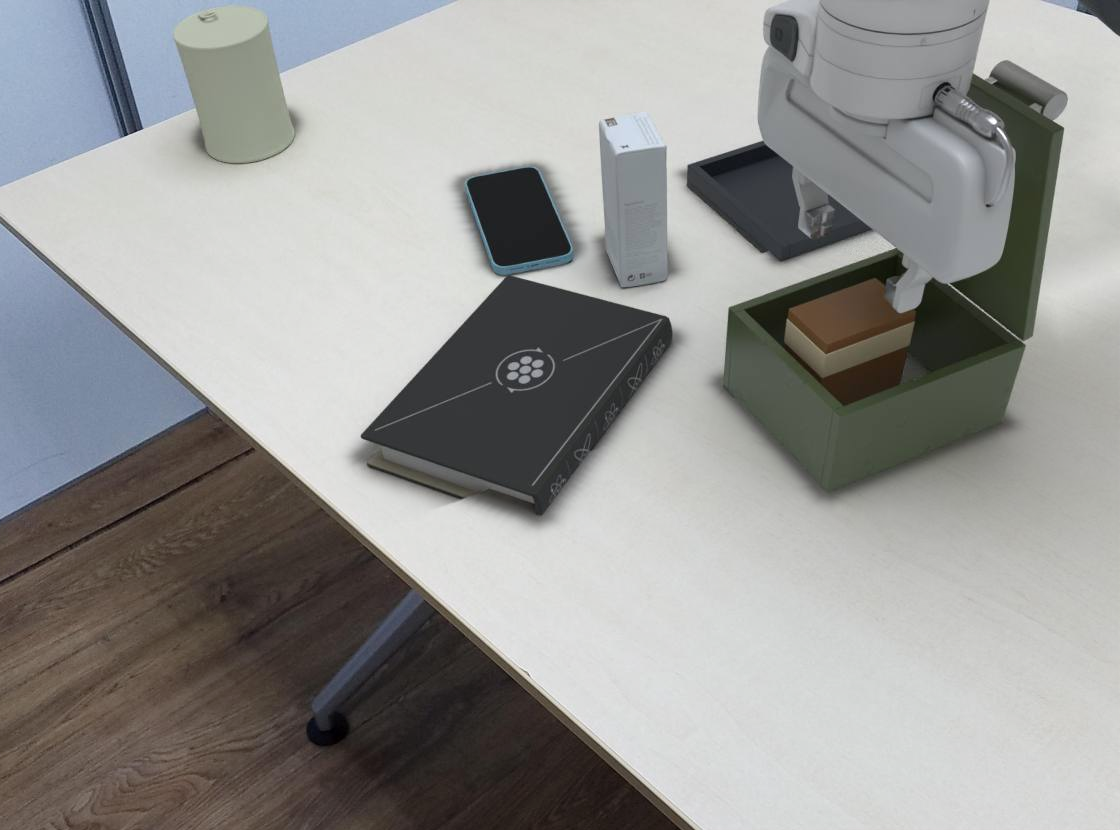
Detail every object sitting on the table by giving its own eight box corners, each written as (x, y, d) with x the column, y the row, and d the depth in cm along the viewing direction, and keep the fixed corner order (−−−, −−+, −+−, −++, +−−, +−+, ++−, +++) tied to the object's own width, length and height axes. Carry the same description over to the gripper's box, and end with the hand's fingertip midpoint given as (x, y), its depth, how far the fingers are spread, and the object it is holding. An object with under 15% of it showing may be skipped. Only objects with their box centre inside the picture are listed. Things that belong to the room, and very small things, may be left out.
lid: (1053, 133, 65) (1128, 94, 65) (901, 41, 73) (969, 7, 73) (1023, 342, 77) (1086, 308, 77) (896, 243, 85) (954, 212, 86)
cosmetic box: (669, 281, 98) (673, 145, 89) (617, 290, 98) (615, 155, 89) (650, 242, 102) (652, 108, 93) (600, 250, 102) (597, 117, 93)
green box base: (825, 504, 80) (840, 417, 74) (721, 393, 88) (728, 307, 82) (998, 433, 83) (1026, 345, 77) (882, 333, 91) (900, 246, 86)
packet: (856, 380, 87) (875, 276, 80) (894, 415, 84) (917, 311, 77) (775, 411, 85) (787, 308, 78) (811, 448, 82) (826, 345, 76)
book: (542, 527, 81) (539, 496, 78) (366, 466, 86) (359, 435, 84) (672, 349, 92) (673, 317, 90) (510, 304, 98) (507, 273, 95)
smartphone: (494, 269, 100) (462, 178, 109) (495, 280, 100) (463, 188, 110) (576, 253, 100) (537, 164, 110) (576, 264, 101) (538, 174, 110)
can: (267, 109, 124) (238, -9, 115) (311, 140, 119) (284, 19, 109) (190, 140, 120) (153, 22, 111) (232, 174, 115) (197, 52, 106)
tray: (864, 127, 112) (867, 106, 110) (970, 202, 102) (976, 180, 101) (686, 185, 108) (687, 164, 106) (779, 269, 98) (782, 247, 96)
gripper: (1070, 115, 59) (1003, 338, 70) (836, -23, 72) (809, 183, 82) (969, 148, 58) (915, 371, 68) (748, 1, 70) (732, 208, 81)
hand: (856, 267), depth 75 cm, fingers open, 8 cm apart
